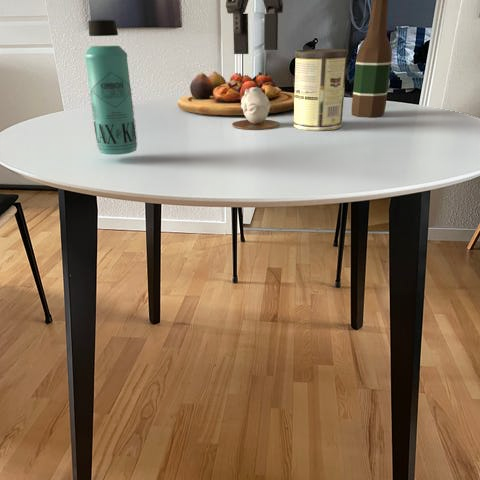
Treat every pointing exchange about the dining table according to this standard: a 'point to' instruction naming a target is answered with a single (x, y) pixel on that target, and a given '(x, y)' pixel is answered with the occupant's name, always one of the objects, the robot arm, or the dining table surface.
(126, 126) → the beverage bottle
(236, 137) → the dining table surface
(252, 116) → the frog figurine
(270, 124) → the coaster
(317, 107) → the coffee can
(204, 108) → the wooden plate
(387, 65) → the beer bottle
